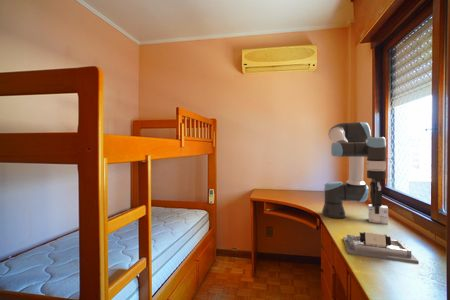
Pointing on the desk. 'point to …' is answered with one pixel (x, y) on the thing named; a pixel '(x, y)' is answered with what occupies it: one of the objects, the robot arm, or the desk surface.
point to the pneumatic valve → (375, 239)
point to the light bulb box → (382, 214)
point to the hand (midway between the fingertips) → (376, 220)
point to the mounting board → (379, 254)
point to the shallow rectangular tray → (394, 249)
